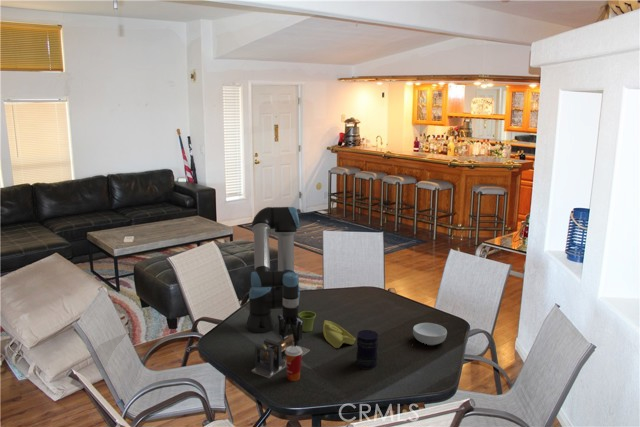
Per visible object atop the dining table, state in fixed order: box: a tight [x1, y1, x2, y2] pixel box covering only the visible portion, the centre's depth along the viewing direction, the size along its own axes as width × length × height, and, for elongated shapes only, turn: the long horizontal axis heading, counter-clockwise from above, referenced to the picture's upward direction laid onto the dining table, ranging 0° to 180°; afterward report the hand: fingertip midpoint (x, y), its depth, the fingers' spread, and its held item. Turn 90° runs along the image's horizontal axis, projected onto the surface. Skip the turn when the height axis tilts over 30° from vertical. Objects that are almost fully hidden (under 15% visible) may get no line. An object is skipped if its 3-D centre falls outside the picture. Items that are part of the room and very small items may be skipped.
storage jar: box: [356, 329, 379, 370], centre depth 258 cm, size 10×10×15 cm
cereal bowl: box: [412, 322, 448, 346], centre depth 283 cm, size 17×17×7 cm
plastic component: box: [322, 319, 357, 349], centre depth 284 cm, size 20×7×10 cm
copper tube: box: [263, 333, 294, 359], centre depth 258 cm, size 20×5×5 cm, turn 147°
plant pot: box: [298, 310, 317, 333], centre depth 294 cm, size 9×9×9 cm
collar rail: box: [251, 338, 311, 379], centre depth 259 cm, size 32×10×13 cm, turn 146°
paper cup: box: [285, 345, 303, 382], centre depth 244 cm, size 8×8×14 cm
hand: (290, 350), depth 265 cm, fingers closed on copper tube, 4 cm apart
